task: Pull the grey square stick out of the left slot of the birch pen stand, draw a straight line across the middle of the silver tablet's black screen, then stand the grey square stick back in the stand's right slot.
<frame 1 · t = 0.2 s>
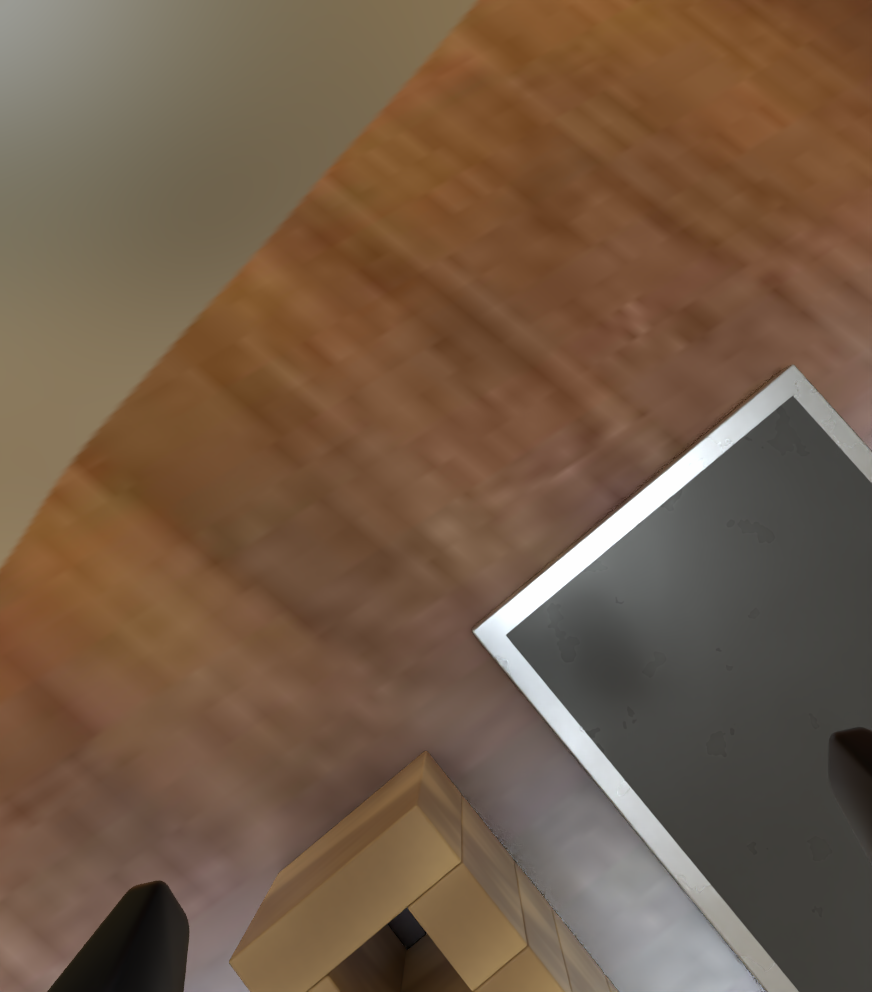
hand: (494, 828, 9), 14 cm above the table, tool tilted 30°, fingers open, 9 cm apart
tablet: (826, 729, 23), on the table
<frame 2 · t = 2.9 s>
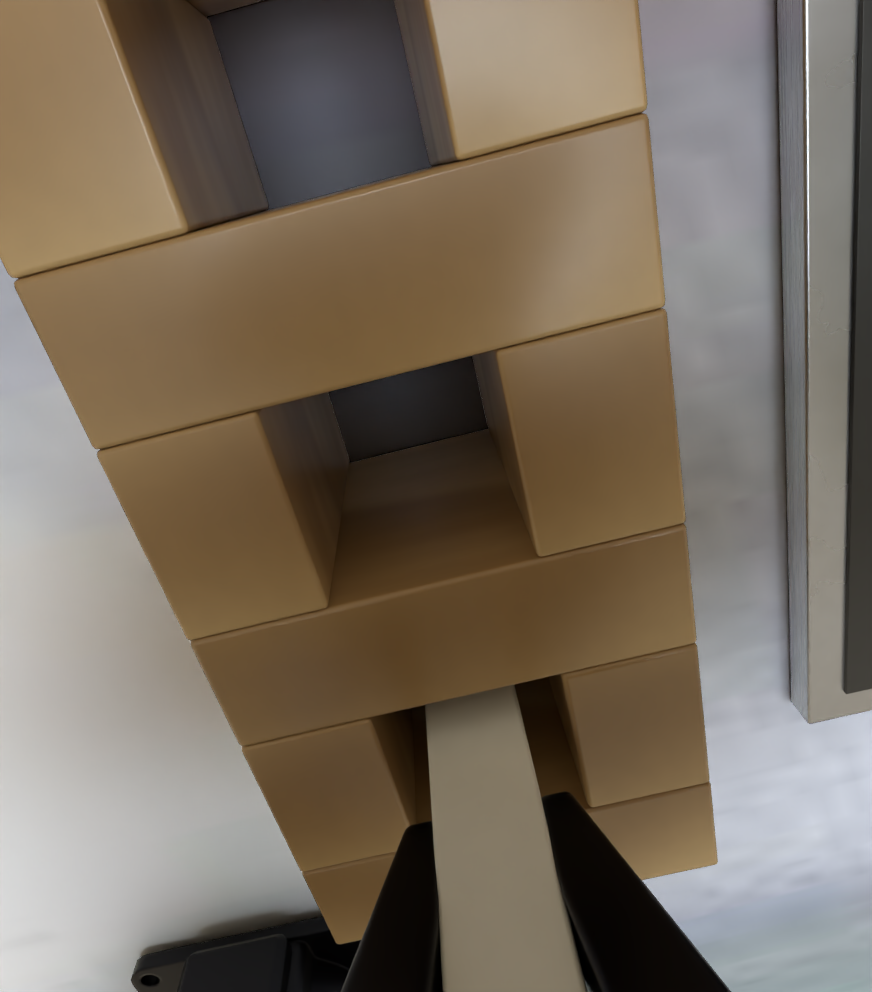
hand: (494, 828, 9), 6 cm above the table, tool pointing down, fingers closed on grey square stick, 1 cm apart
pen stand: (400, 377, 13), on the table
grey square stick: (456, 583, 15), resting in pen stand, touching gripper
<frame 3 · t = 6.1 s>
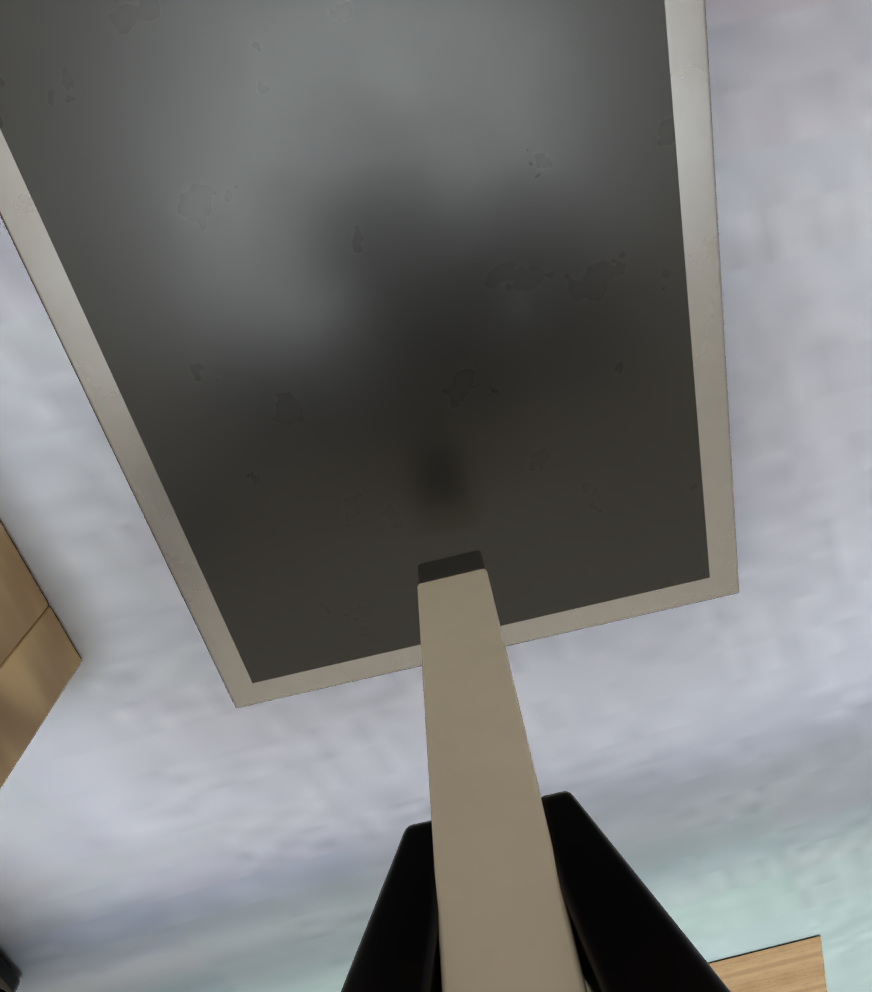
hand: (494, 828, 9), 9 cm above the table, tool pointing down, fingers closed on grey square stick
tablet: (385, 274, 15), on the table
grey square stick: (455, 582, 15), point 3 cm above the table, touching gripper
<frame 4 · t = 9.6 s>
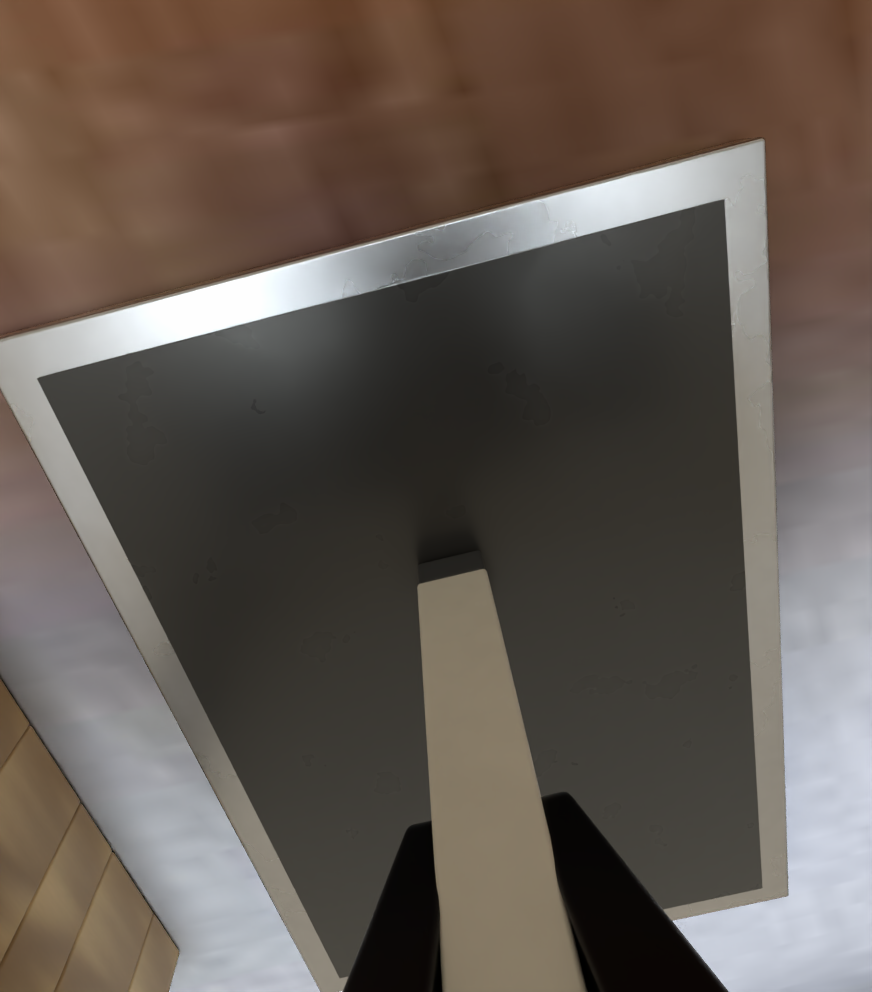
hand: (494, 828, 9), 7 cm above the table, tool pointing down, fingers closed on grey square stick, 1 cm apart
tablet: (477, 666, 17), on the table
grey square stick: (455, 582, 15), point 1 cm above the table, touching gripper
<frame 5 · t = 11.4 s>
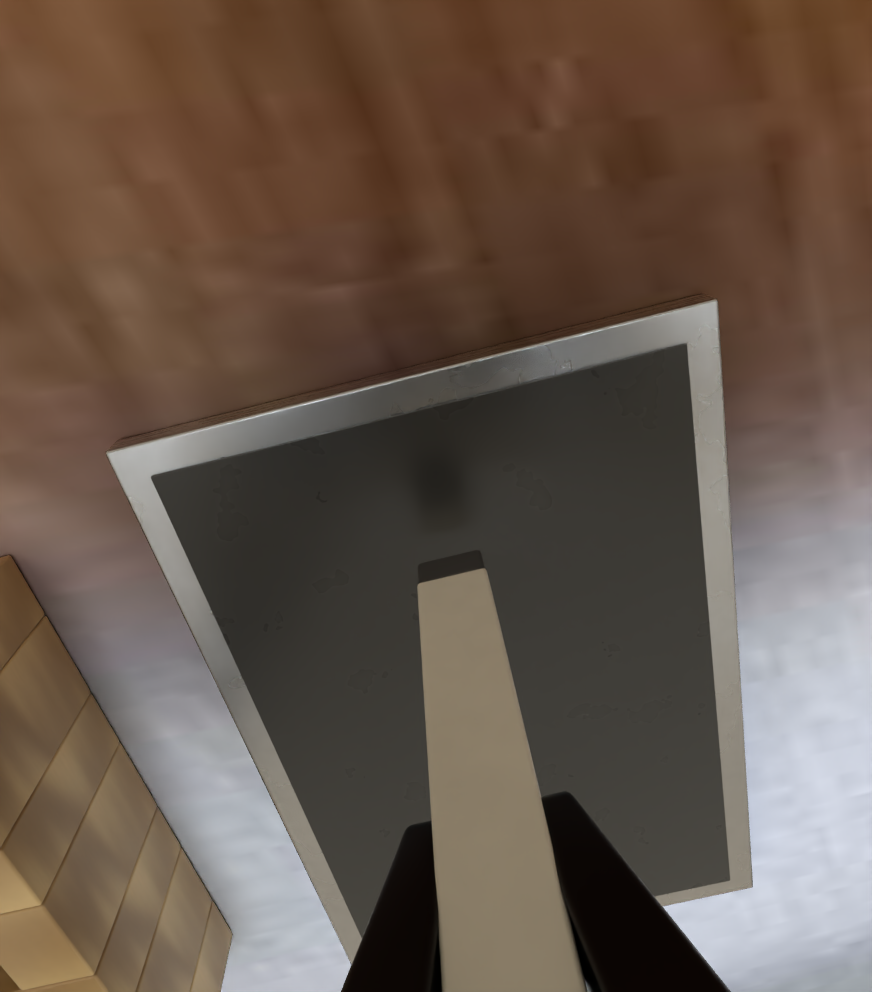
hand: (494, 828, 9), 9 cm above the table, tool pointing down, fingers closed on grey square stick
pen stand: (37, 797, 21), on the table
tablet: (490, 694, 20), on the table
grey square stick: (455, 581, 15), point 3 cm above the table, touching gripper
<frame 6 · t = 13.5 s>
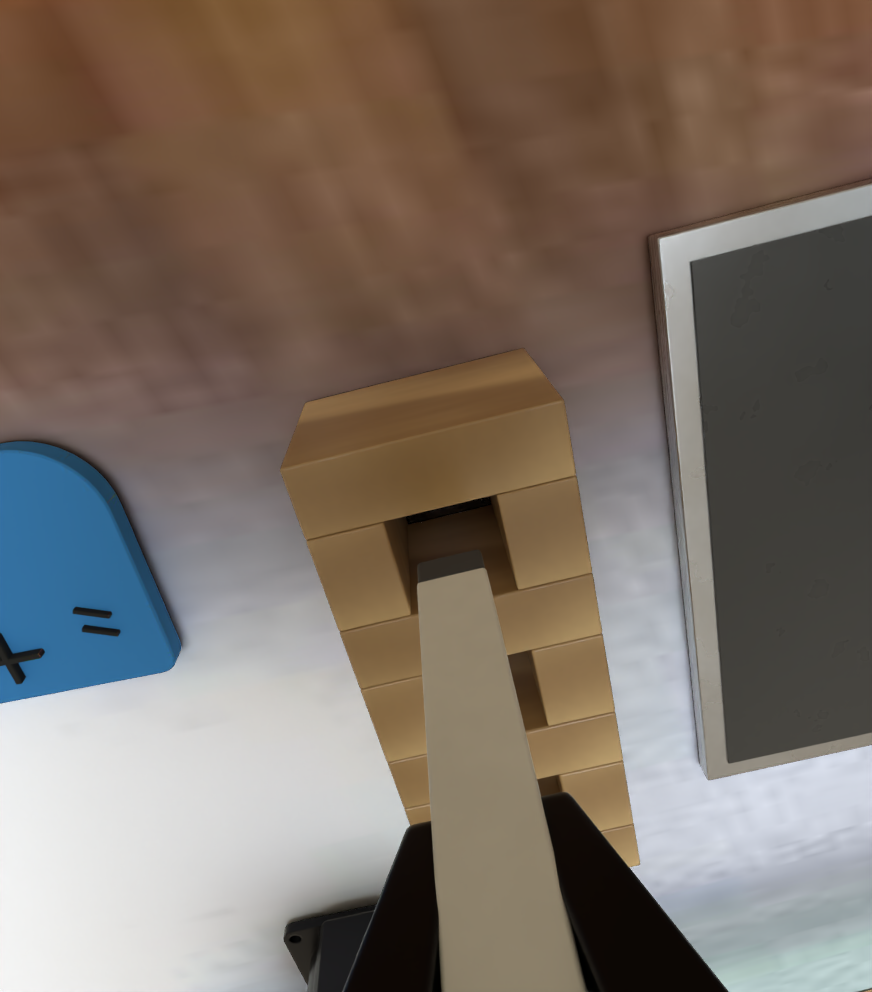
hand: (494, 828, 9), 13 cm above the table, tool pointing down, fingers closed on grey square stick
pen stand: (471, 598, 23), on the table
grey square stick: (455, 581, 15), point 7 cm above the table, touching gripper
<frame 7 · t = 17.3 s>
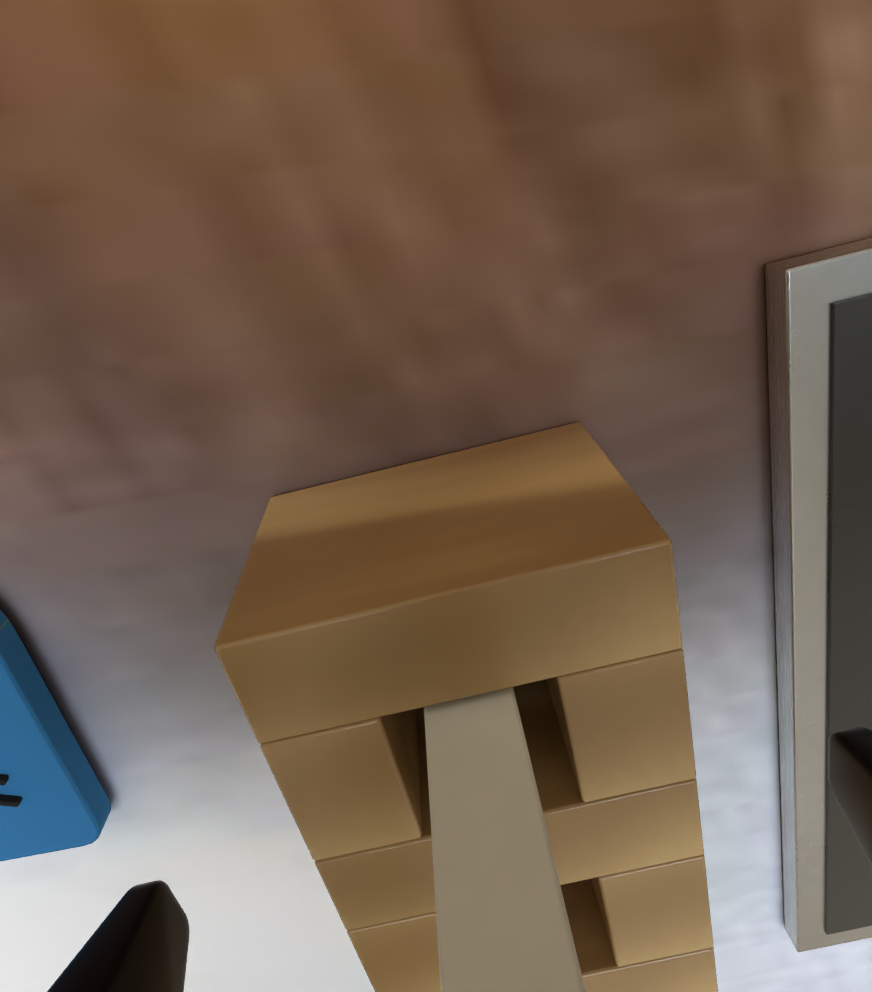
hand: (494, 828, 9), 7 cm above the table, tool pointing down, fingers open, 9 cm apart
pen stand: (498, 740, 17), on the table
grey square stick: (452, 570, 15), resting in pen stand
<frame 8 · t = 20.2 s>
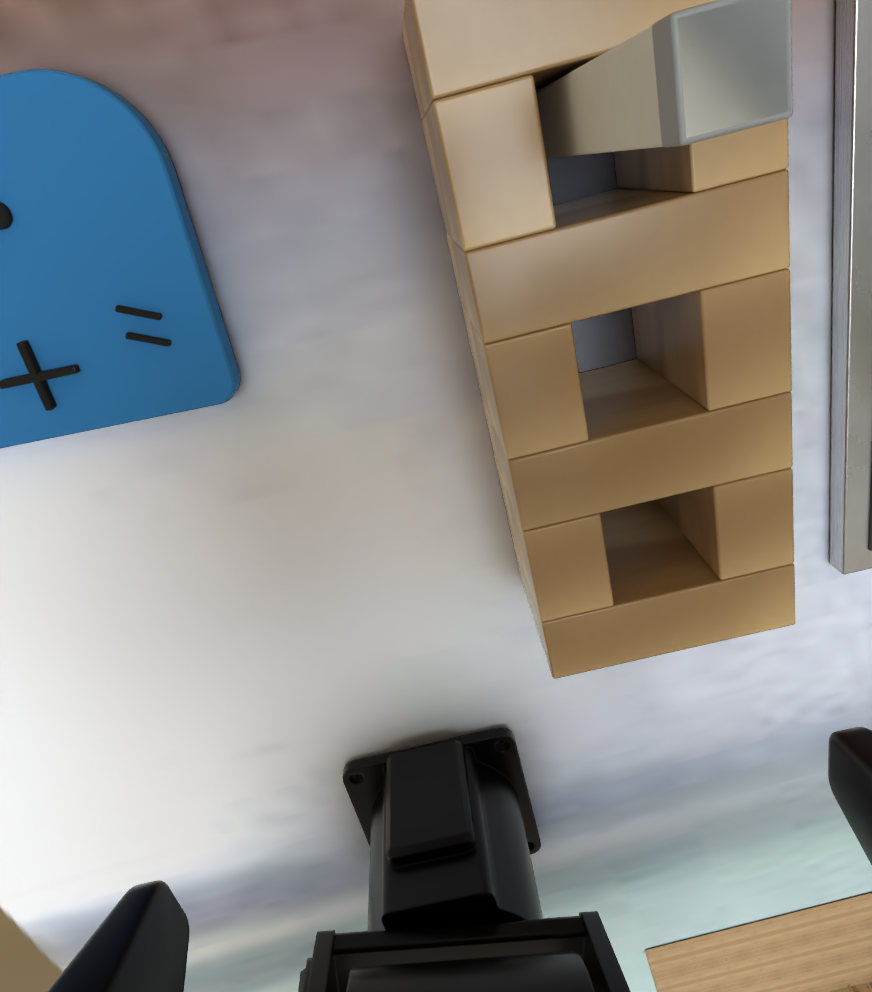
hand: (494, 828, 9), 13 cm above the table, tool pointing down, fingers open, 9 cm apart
pen stand: (583, 324, 19), on the table
grey square stick: (554, 122, 17), resting in pen stand
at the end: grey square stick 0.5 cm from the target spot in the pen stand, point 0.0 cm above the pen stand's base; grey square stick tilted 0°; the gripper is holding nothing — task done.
